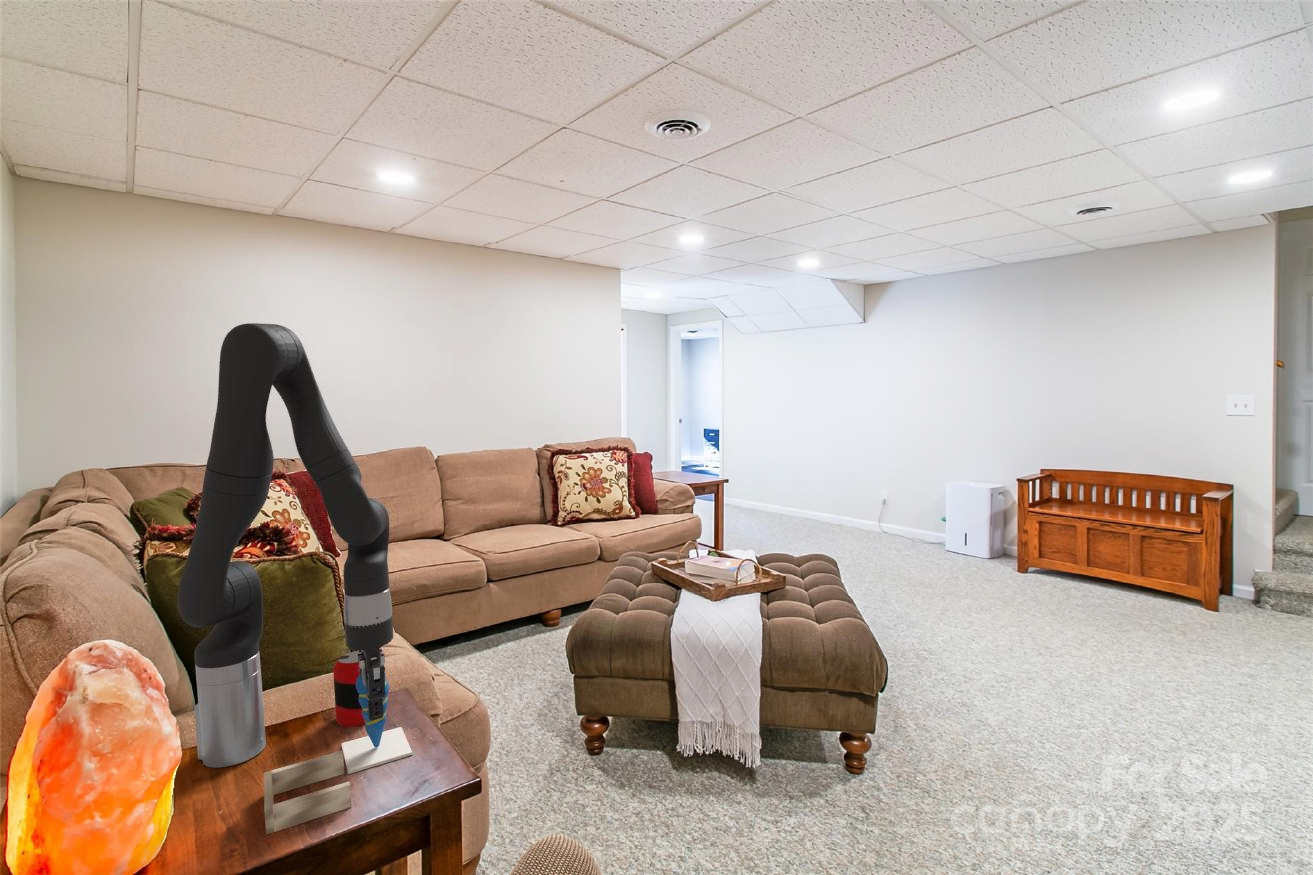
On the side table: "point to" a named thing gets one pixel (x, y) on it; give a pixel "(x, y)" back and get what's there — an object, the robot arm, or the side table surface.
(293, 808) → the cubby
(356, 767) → the pad
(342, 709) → the soda can
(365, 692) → the ornament
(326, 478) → the robot arm
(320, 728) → the side table surface
